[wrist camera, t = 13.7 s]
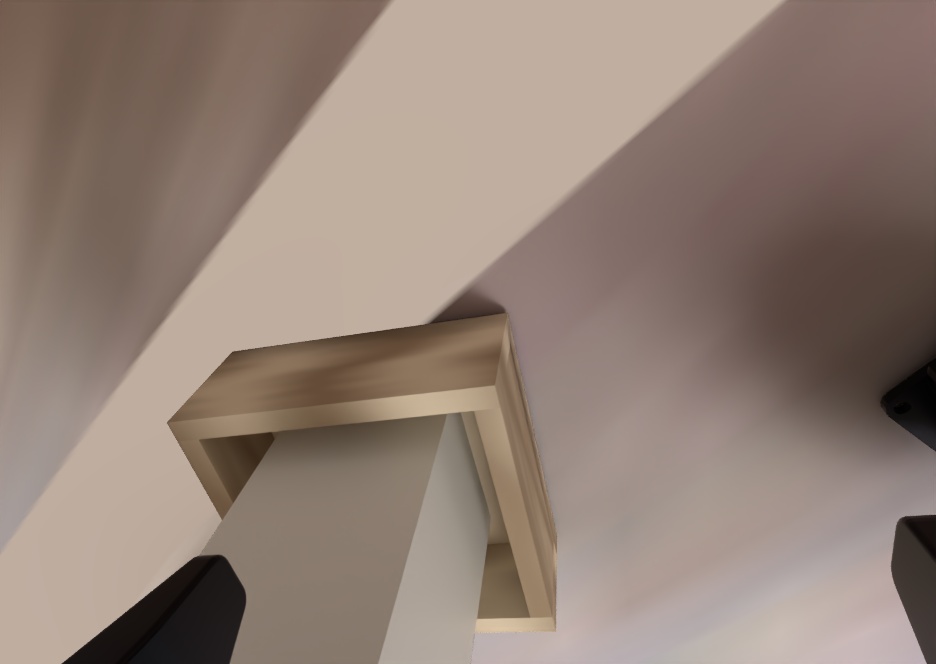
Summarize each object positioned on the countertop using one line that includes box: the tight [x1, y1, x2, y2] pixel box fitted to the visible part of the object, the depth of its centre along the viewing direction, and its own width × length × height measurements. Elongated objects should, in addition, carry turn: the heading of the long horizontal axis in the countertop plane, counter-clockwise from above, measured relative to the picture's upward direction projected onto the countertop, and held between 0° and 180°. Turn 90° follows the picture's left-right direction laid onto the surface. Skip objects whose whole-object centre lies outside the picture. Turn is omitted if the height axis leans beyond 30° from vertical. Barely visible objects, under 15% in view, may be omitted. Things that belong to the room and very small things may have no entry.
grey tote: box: [199, 412, 491, 664], centre depth 19 cm, size 6×6×12 cm
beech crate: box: [167, 313, 557, 633], centre depth 23 cm, size 11×11×4 cm
